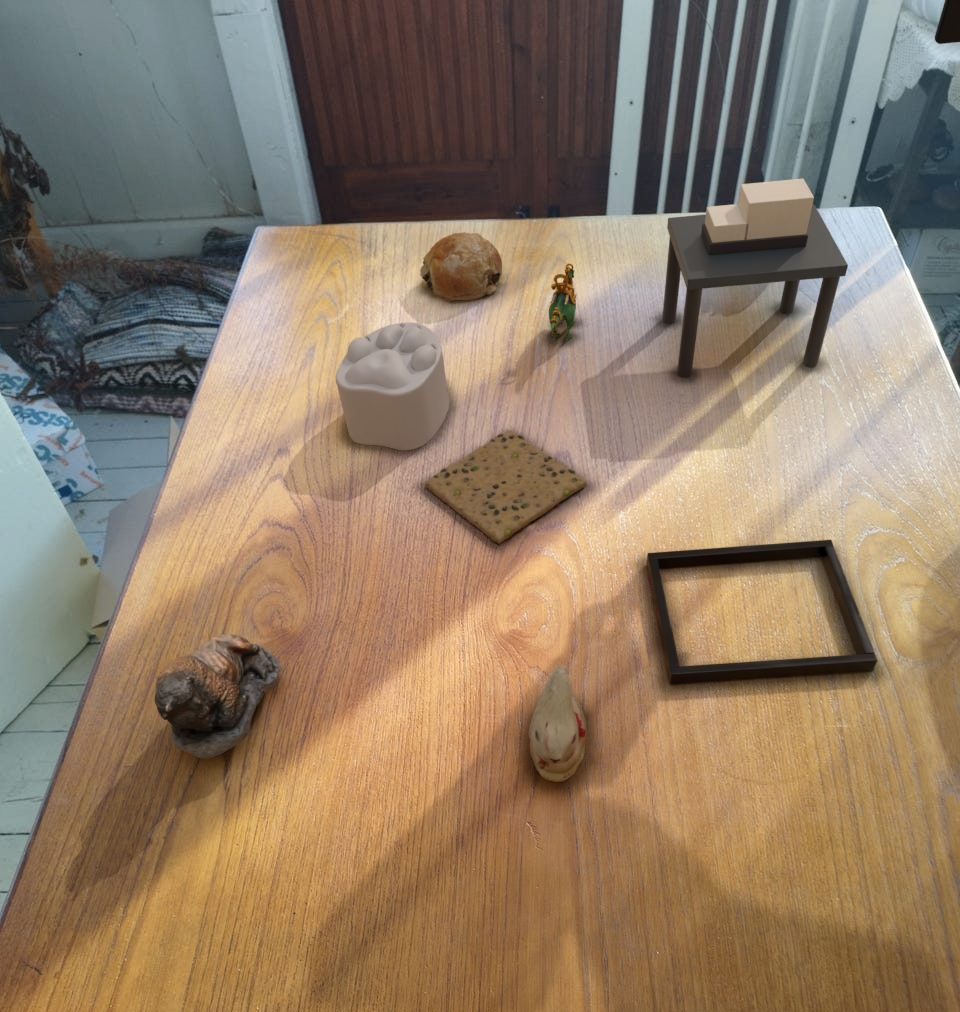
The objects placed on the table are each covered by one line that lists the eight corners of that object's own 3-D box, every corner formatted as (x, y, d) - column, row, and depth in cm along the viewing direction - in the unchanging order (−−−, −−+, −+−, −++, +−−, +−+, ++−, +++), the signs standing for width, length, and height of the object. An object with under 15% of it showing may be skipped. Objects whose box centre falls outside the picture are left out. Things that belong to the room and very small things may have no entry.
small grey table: (792, 304, 105) (814, 204, 95) (821, 367, 97) (848, 265, 87) (659, 315, 106) (668, 217, 96) (676, 379, 98) (688, 279, 88)
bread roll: (473, 332, 113) (494, 283, 106) (404, 291, 112) (420, 239, 106) (500, 291, 118) (521, 242, 112) (434, 252, 118) (452, 201, 111)
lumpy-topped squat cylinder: (337, 440, 96) (320, 373, 89) (381, 371, 103) (368, 304, 96) (425, 454, 93) (414, 385, 86) (464, 382, 101) (456, 313, 94)
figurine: (583, 309, 108) (584, 245, 101) (565, 366, 101) (565, 301, 94) (559, 307, 108) (558, 244, 102) (539, 364, 101) (537, 299, 95)
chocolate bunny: (502, 766, 69) (494, 694, 61) (553, 695, 73) (551, 619, 65) (563, 798, 67) (562, 728, 59) (612, 724, 70) (617, 649, 63)
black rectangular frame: (827, 550, 80) (831, 539, 79) (873, 671, 71) (878, 660, 70) (646, 563, 81) (647, 552, 80) (669, 684, 72) (671, 674, 71)
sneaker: (795, 225, 93) (805, 177, 89) (806, 246, 90) (816, 197, 86) (701, 234, 93) (706, 186, 90) (708, 255, 91) (715, 207, 87)
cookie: (422, 486, 90) (421, 479, 89) (510, 432, 94) (510, 425, 93) (498, 545, 84) (497, 538, 83) (588, 485, 88) (588, 477, 87)
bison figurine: (224, 654, 78) (185, 579, 70) (297, 663, 77) (266, 587, 69) (169, 769, 71) (120, 700, 63) (249, 781, 70) (208, 712, 62)
